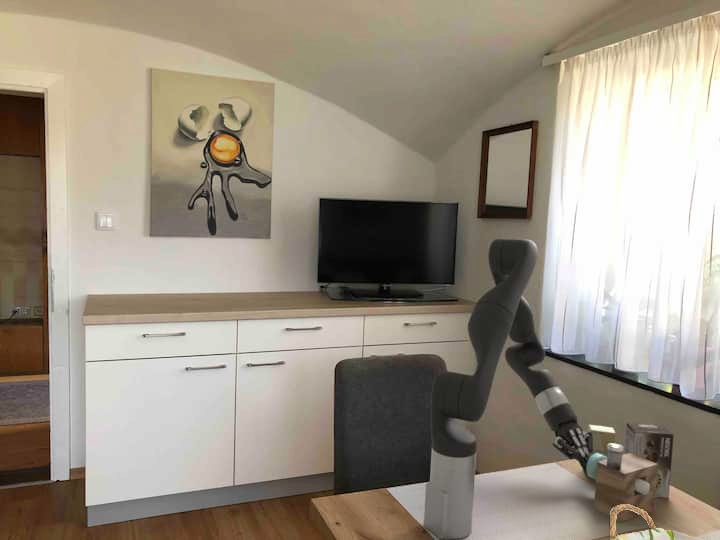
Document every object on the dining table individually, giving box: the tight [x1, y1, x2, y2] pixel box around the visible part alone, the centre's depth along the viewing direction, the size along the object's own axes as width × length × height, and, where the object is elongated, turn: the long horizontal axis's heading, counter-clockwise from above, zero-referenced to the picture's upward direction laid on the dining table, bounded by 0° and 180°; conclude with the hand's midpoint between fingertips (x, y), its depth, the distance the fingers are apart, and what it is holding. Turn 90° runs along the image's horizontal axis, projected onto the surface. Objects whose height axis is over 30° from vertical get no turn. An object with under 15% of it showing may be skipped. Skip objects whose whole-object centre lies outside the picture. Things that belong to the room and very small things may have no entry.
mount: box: [593, 453, 658, 522], centre depth 134 cm, size 12×7×11 cm, turn 120°
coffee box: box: [624, 422, 675, 499], centre depth 143 cm, size 9×6×16 cm
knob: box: [586, 453, 650, 495], centre depth 135 cm, size 6×14×6 cm, turn 30°
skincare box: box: [587, 424, 616, 457], centre depth 153 cm, size 6×4×12 cm
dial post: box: [607, 443, 625, 470], centre depth 131 cm, size 3×3×5 cm
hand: (591, 472), depth 142 cm, fingers closed
